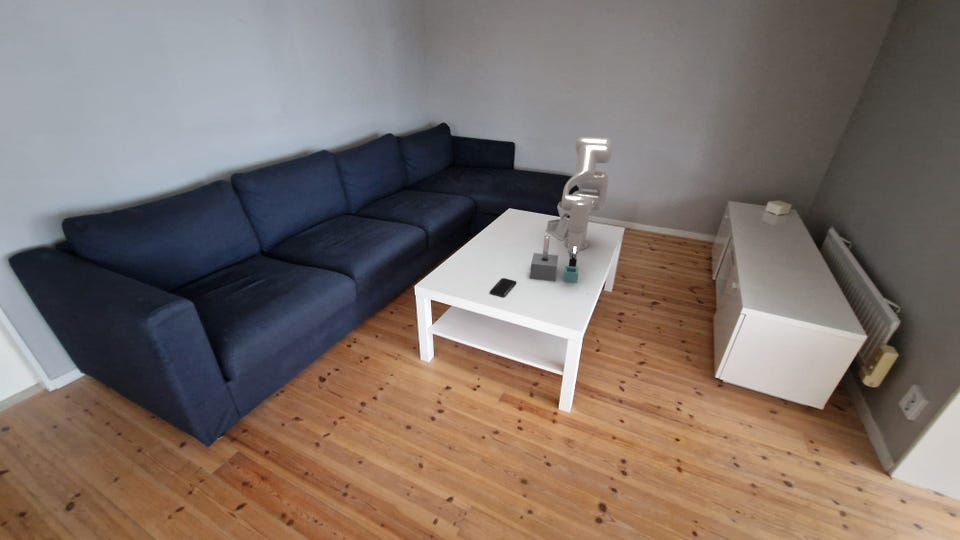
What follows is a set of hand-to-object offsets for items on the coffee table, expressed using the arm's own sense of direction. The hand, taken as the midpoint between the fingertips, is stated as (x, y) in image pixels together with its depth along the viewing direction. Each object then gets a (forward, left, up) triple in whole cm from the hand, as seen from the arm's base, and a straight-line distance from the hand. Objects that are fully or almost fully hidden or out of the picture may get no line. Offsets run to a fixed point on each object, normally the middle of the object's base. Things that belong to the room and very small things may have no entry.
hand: (572, 261), depth 184 cm
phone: (+15, -30, -10) cm, 35 cm away
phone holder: (-55, -8, -10) cm, 56 cm away
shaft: (-3, -13, -4) cm, 14 cm away
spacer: (-1, 0, -10) cm, 10 cm away
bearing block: (-3, -13, -10) cm, 16 cm away
